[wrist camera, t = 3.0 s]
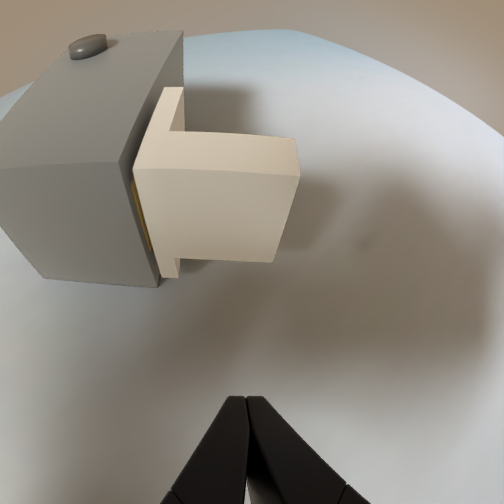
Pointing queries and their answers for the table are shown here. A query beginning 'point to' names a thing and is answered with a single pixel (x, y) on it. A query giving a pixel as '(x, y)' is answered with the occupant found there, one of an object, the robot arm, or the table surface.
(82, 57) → the block
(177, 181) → the cream l-shaped bracket
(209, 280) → the table surface
